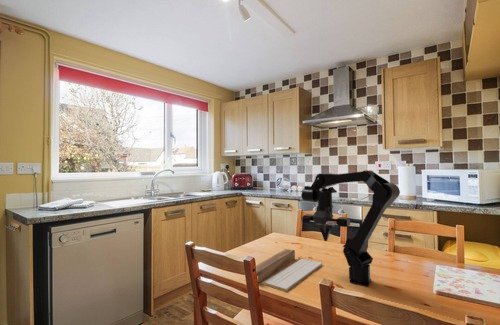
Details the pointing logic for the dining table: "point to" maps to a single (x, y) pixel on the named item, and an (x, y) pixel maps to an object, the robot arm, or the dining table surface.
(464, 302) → the dining table surface
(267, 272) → the walnut plank
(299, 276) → the baseboard molding
